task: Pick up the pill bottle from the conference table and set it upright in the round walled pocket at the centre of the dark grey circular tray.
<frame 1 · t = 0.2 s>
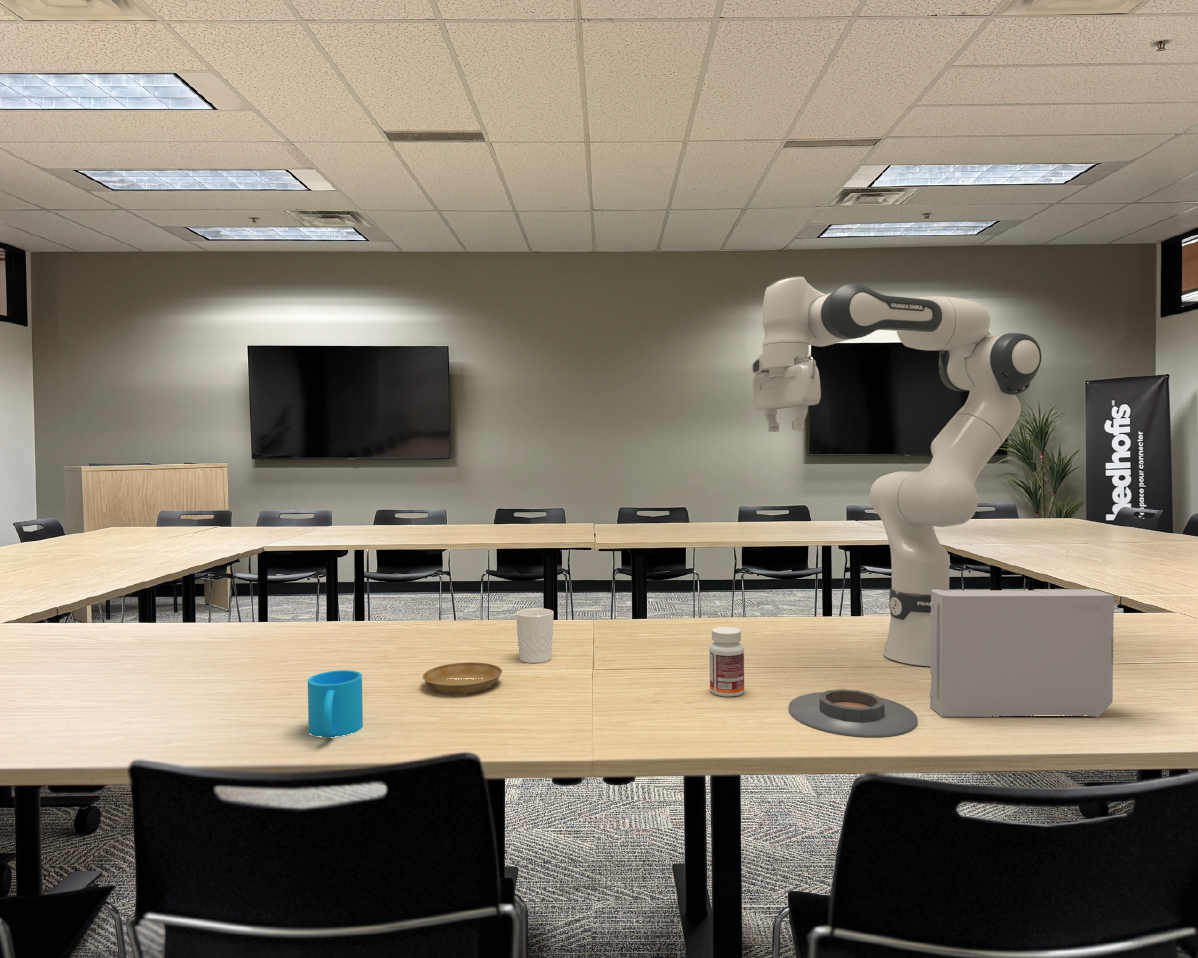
hand: (785, 431, 145), 47 cm above the table, tool pointing down, fingers open, 8 cm apart
round tray: (851, 714, 121), on the table
plant saucer: (462, 687, 138), on the table
game console: (1016, 712, 122), on the table
white cup: (535, 659, 156), on the table
mug: (334, 734, 115), on the table
pill bottle: (726, 693, 133), on the table
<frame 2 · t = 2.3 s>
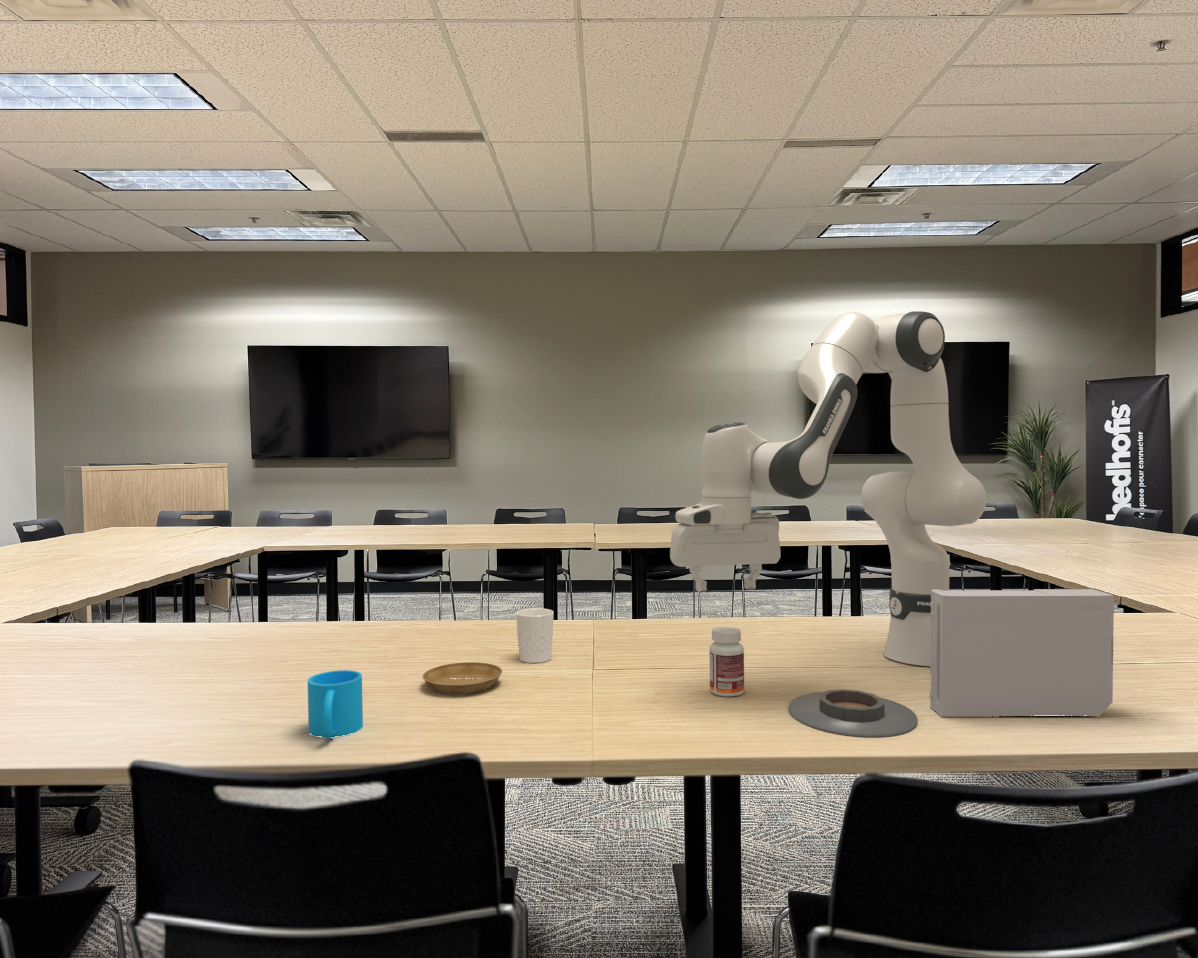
hand: (725, 589, 132), 19 cm above the table, tool pointing down, fingers open, 8 cm apart
nothing on the table moved.
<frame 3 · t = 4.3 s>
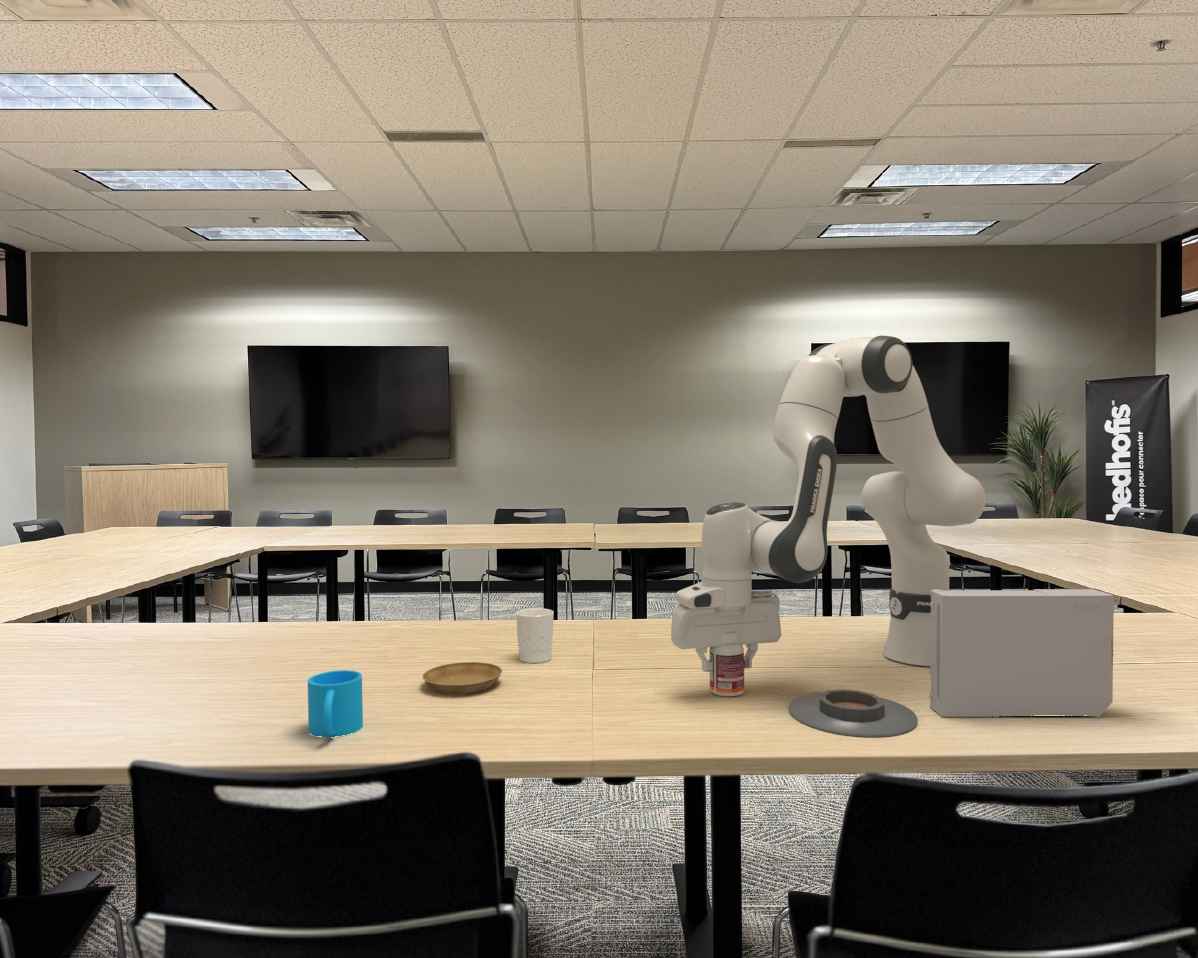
hand: (726, 669, 133), 4 cm above the table, tool pointing down, fingers closed on pill bottle, 6 cm apart
pill bottle: (726, 693, 133), on the table, touching gripper
everything else where it was.
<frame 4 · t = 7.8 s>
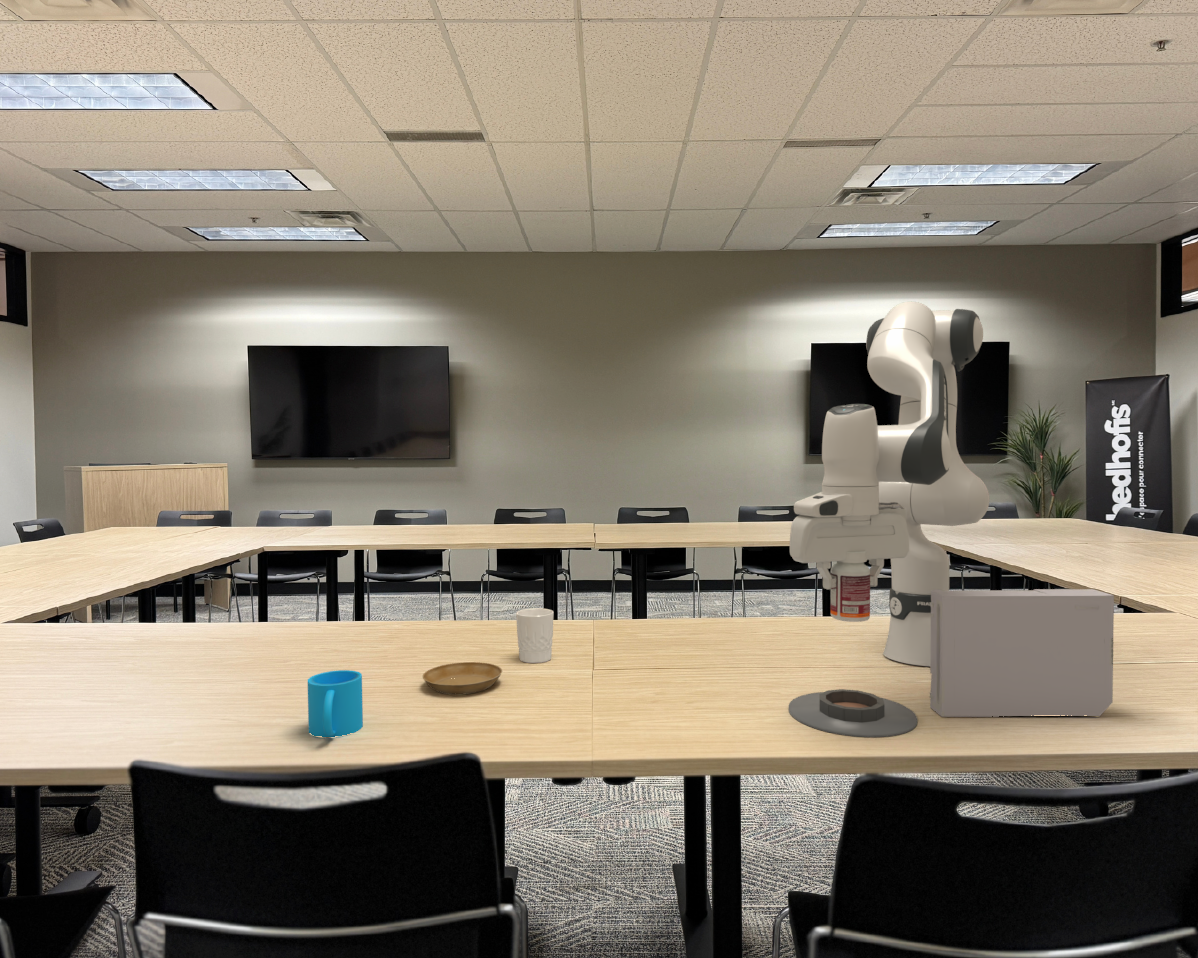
hand: (850, 587, 121), 21 cm above the table, tool pointing down, fingers closed on pill bottle, 6 cm apart
pill bottle: (849, 619, 121), point 16 cm above the table, touching gripper
everything else where it was.
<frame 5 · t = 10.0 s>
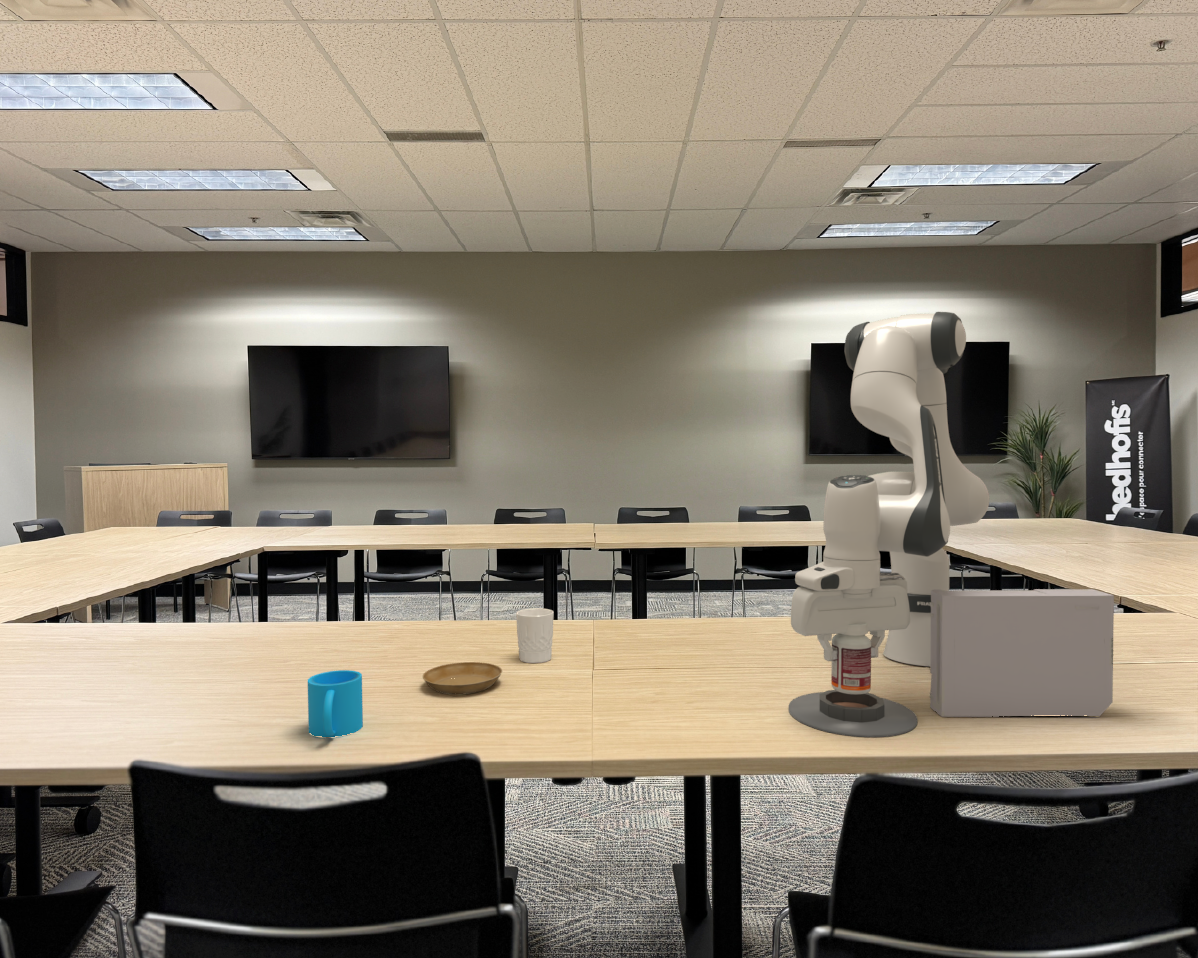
hand: (851, 658, 121), 9 cm above the table, tool pointing down, fingers closed on pill bottle, 6 cm apart
pill bottle: (850, 690, 121), point 4 cm above the table, touching gripper
everything else where it was.
when the fingers open (7 cm above the table, at t = 11.6 s): pill bottle stays where it is, resting on round tray.
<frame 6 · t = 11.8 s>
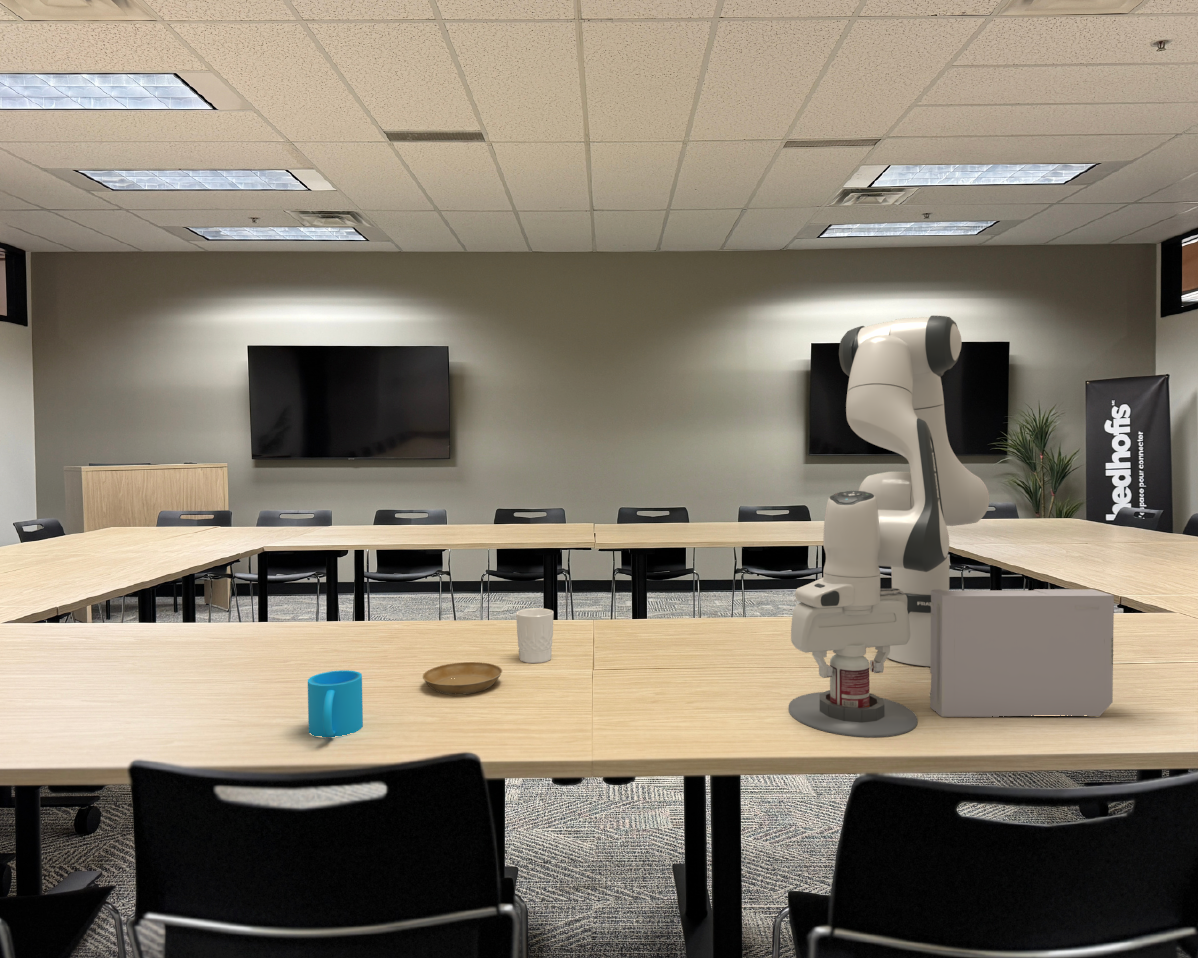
hand: (851, 674, 121), 7 cm above the table, tool pointing down, fingers open, 8 cm apart
pill bottle: (849, 711, 121), point 1 cm above the table, touching round tray
everything else where it was.
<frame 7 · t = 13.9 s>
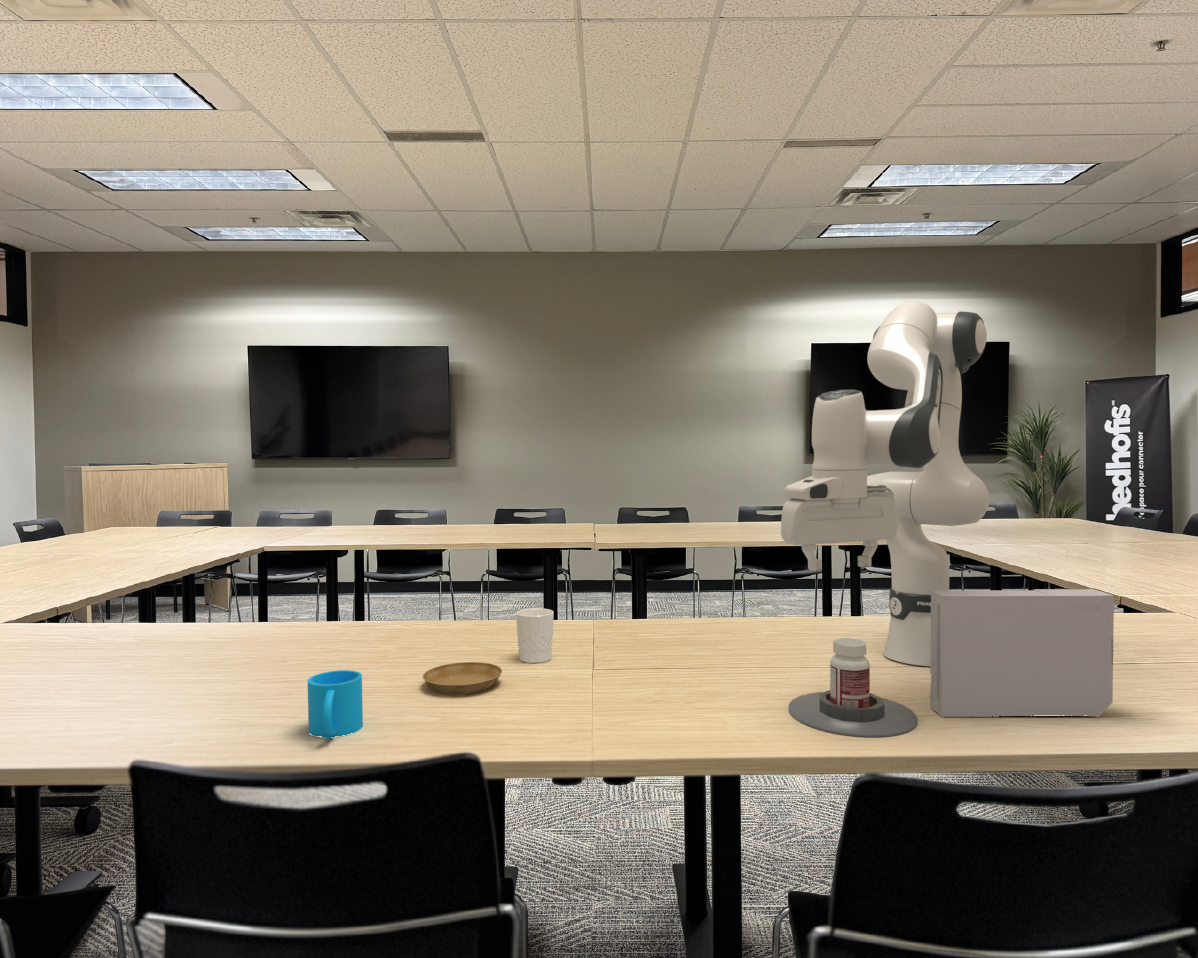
hand: (840, 568, 124), 24 cm above the table, tool pointing down, fingers open, 8 cm apart
nothing on the table moved.
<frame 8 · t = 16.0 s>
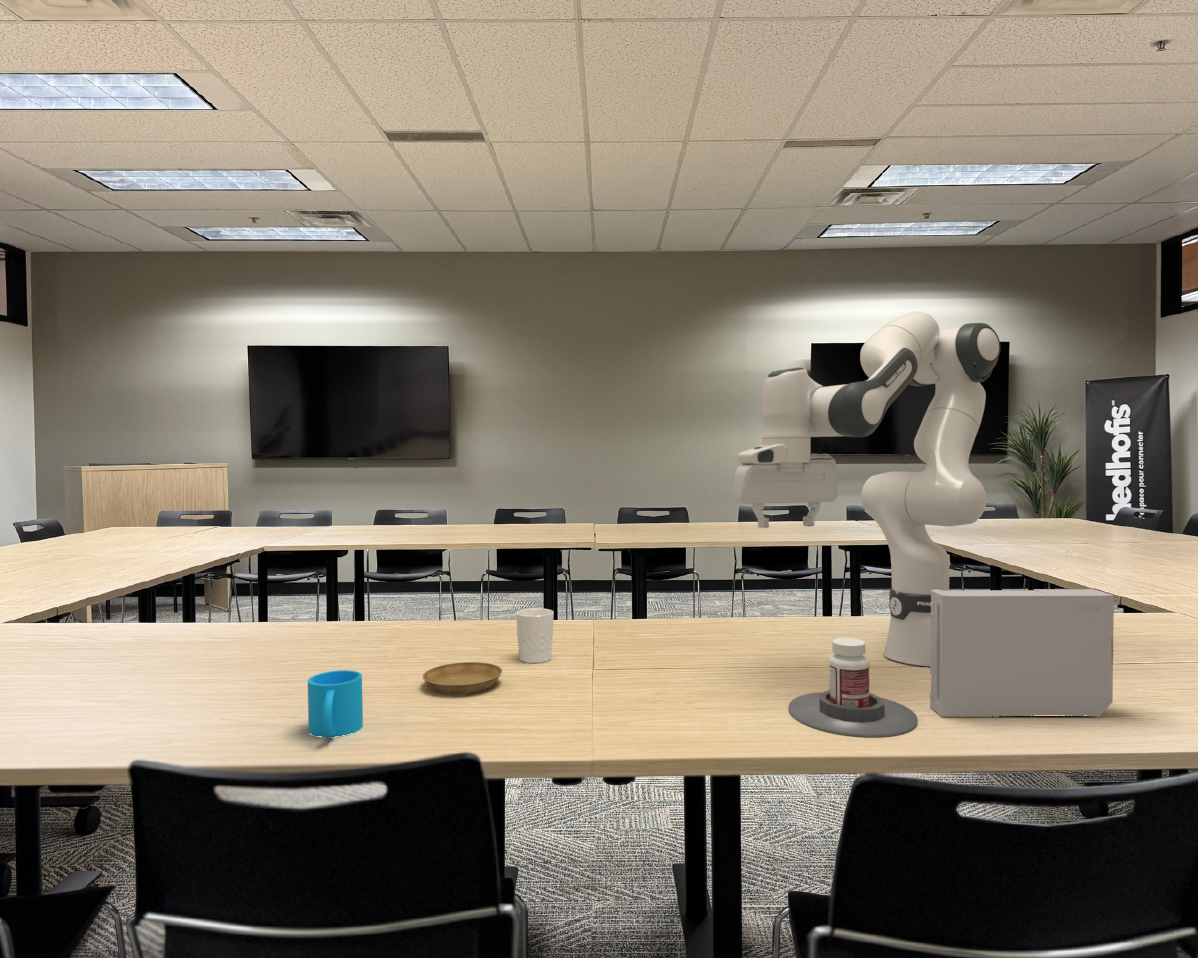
hand: (786, 526, 139), 29 cm above the table, tool pointing down, fingers open, 8 cm apart
nothing on the table moved.
at the end: pill bottle 0.3 cm off-centre on the round tray, point 0.5 cm above the round tray's base; pill bottle tilted 0°; the gripper is holding nothing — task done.
